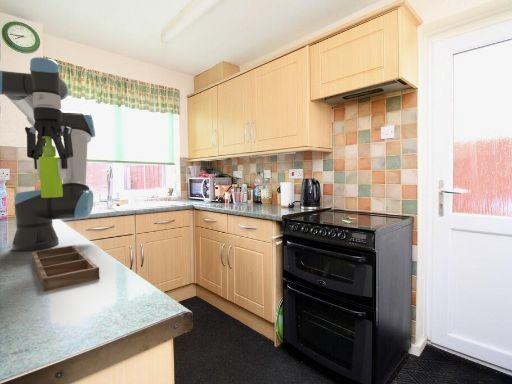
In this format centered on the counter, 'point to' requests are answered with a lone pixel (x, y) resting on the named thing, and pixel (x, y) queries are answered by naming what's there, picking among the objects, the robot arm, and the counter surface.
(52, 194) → the soap dispenser
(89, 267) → the pocket rack
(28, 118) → the robot arm
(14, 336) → the counter surface
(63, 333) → the counter surface
